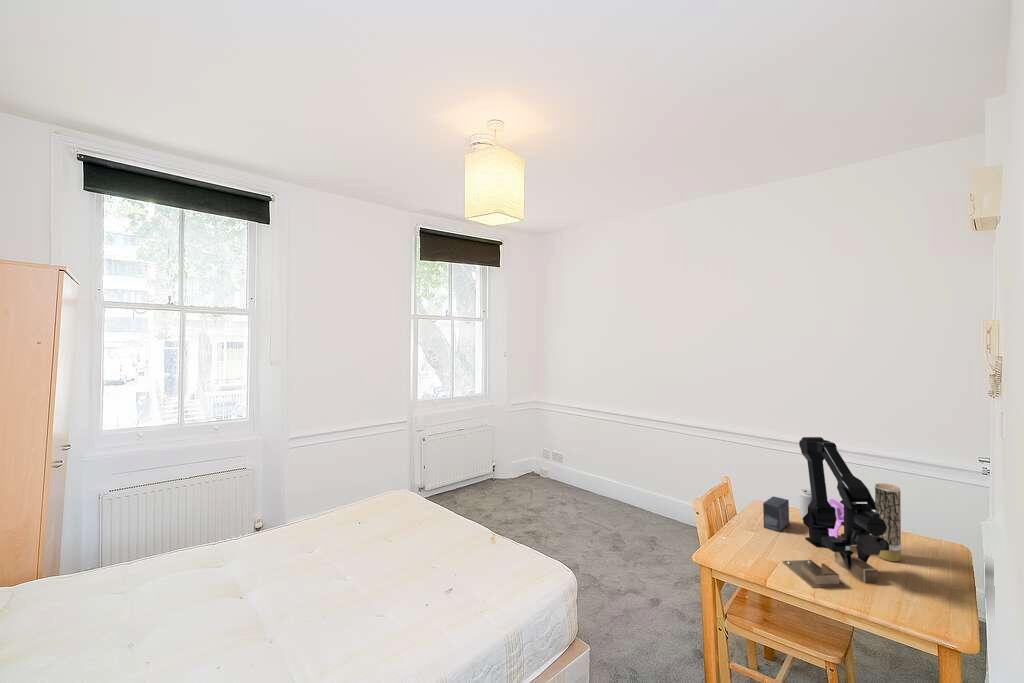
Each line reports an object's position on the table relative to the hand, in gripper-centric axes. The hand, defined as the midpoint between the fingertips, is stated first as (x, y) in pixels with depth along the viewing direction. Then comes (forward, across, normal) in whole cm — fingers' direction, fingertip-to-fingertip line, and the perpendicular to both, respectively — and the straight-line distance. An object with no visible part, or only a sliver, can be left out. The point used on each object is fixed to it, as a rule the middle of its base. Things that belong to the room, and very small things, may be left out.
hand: (855, 568), depth 148 cm
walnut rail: (+1, 0, 0) cm, 1 cm away
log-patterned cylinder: (+1, +18, +8) cm, 20 cm away
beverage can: (+1, +12, +40) cm, 42 cm away
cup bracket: (+1, -15, 0) cm, 15 cm away
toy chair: (+1, +14, +24) cm, 28 cm away
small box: (+1, -5, +35) cm, 35 cm away
